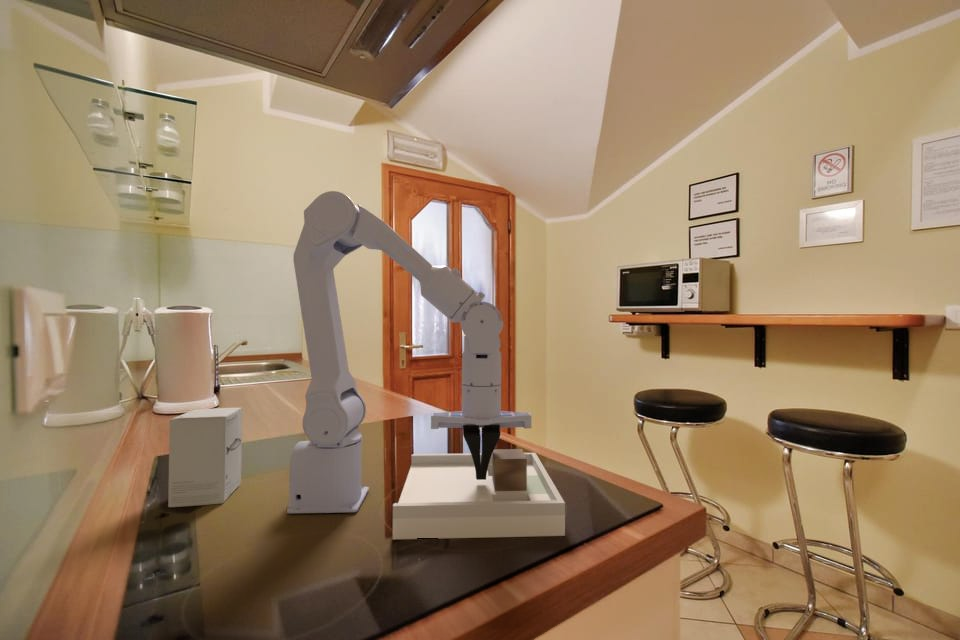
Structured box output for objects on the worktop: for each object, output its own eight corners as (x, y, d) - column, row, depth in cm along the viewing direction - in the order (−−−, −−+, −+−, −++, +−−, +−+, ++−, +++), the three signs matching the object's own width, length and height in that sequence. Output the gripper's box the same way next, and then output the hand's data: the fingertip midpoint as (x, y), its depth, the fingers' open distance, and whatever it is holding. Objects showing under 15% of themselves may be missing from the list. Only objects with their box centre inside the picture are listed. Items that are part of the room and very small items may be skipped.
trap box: (392, 539, 50) (392, 506, 50) (411, 477, 70) (412, 454, 70) (565, 535, 51) (565, 502, 51) (535, 476, 71) (535, 452, 71)
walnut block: (494, 491, 58) (494, 459, 58) (492, 479, 62) (492, 449, 62) (526, 490, 58) (526, 458, 58) (521, 478, 63) (521, 449, 63)
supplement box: (224, 504, 59) (225, 416, 59) (166, 508, 58) (167, 418, 58) (242, 484, 67) (243, 406, 67) (191, 488, 65) (192, 408, 65)
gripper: (429, 388, 56) (428, 488, 56) (535, 388, 57) (535, 487, 57) (433, 381, 63) (432, 470, 63) (527, 381, 64) (526, 469, 64)
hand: (480, 477), depth 60 cm, fingers closed
